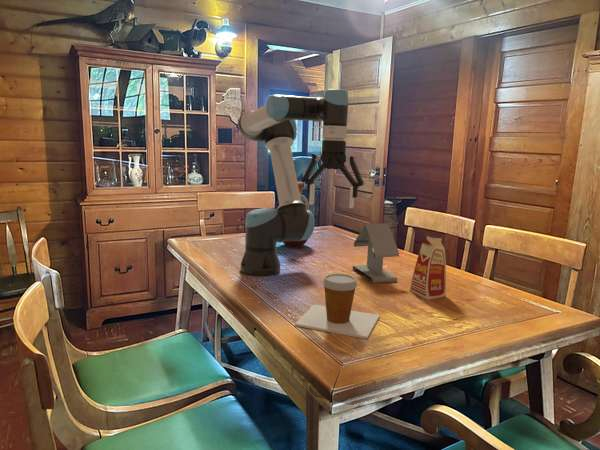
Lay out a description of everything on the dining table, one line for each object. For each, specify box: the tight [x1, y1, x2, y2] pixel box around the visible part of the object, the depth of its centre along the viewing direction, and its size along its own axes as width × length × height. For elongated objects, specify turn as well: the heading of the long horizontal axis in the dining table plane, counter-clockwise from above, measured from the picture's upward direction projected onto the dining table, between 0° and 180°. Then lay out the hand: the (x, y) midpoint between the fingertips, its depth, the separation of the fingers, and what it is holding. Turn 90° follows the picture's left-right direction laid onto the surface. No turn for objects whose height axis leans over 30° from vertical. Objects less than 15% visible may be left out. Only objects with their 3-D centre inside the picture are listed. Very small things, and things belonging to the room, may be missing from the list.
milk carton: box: [409, 235, 447, 301], centre depth 153 cm, size 9×9×20 cm
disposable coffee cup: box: [322, 273, 358, 324], centre depth 128 cm, size 10×10×12 cm
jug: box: [282, 180, 310, 249], centre depth 214 cm, size 20×18×30 cm
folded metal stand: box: [352, 222, 400, 284], centre depth 172 cm, size 18×10×20 cm, turn 17°
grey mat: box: [294, 304, 380, 340], centre depth 129 cm, size 20×16×1 cm
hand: (331, 205), depth 151 cm, fingers open, 13 cm apart
